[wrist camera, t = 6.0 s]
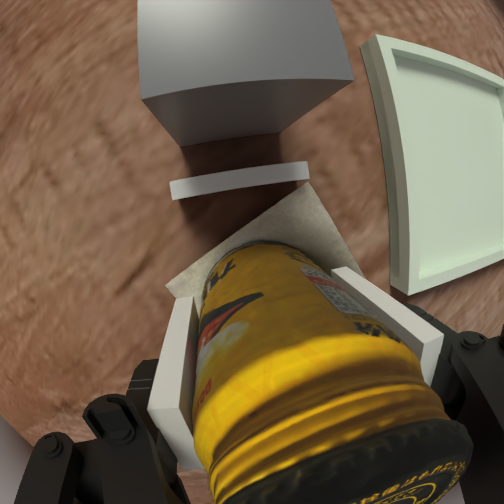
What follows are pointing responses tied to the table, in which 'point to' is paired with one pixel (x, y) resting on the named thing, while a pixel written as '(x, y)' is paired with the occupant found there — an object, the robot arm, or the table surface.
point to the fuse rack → (237, 75)
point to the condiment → (308, 376)
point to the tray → (438, 161)
